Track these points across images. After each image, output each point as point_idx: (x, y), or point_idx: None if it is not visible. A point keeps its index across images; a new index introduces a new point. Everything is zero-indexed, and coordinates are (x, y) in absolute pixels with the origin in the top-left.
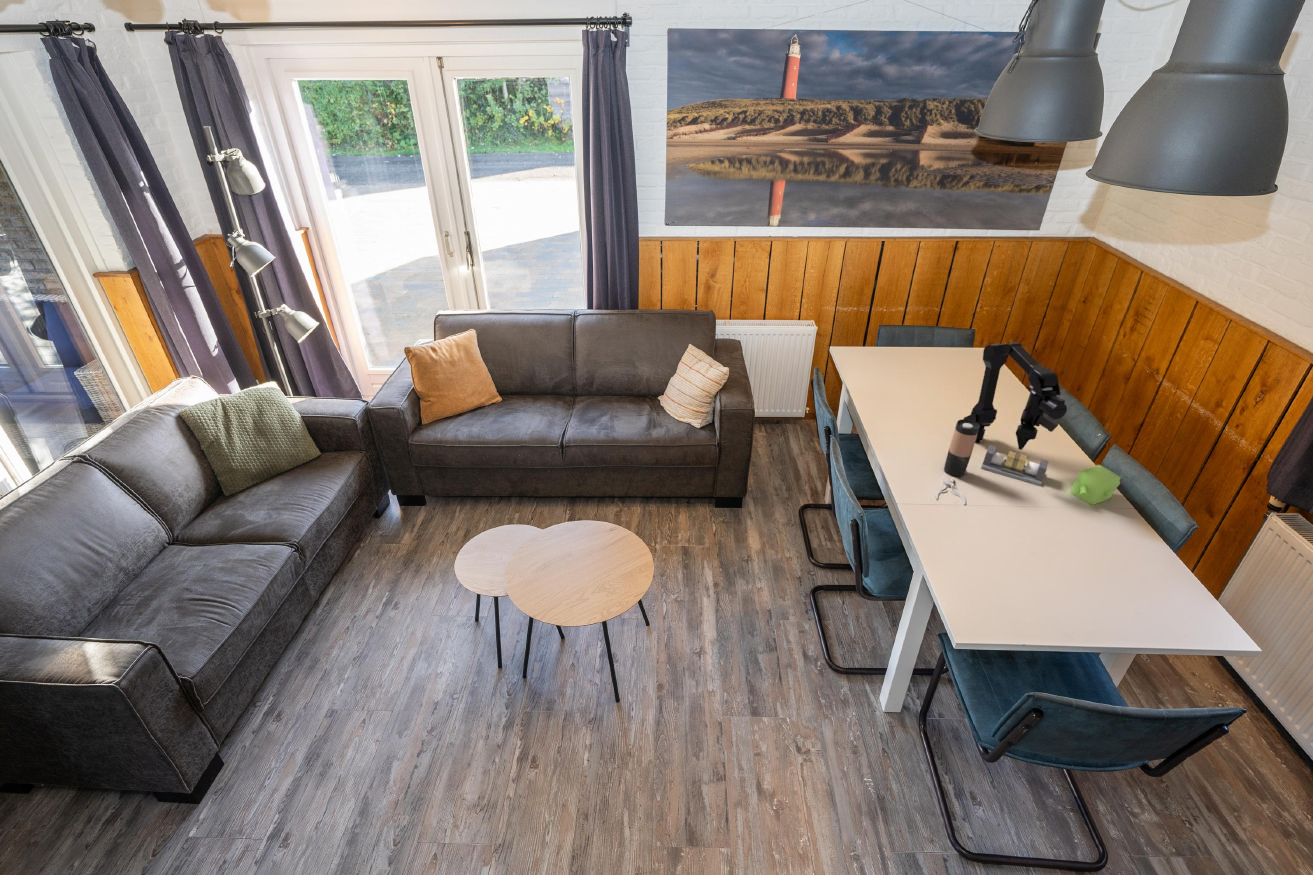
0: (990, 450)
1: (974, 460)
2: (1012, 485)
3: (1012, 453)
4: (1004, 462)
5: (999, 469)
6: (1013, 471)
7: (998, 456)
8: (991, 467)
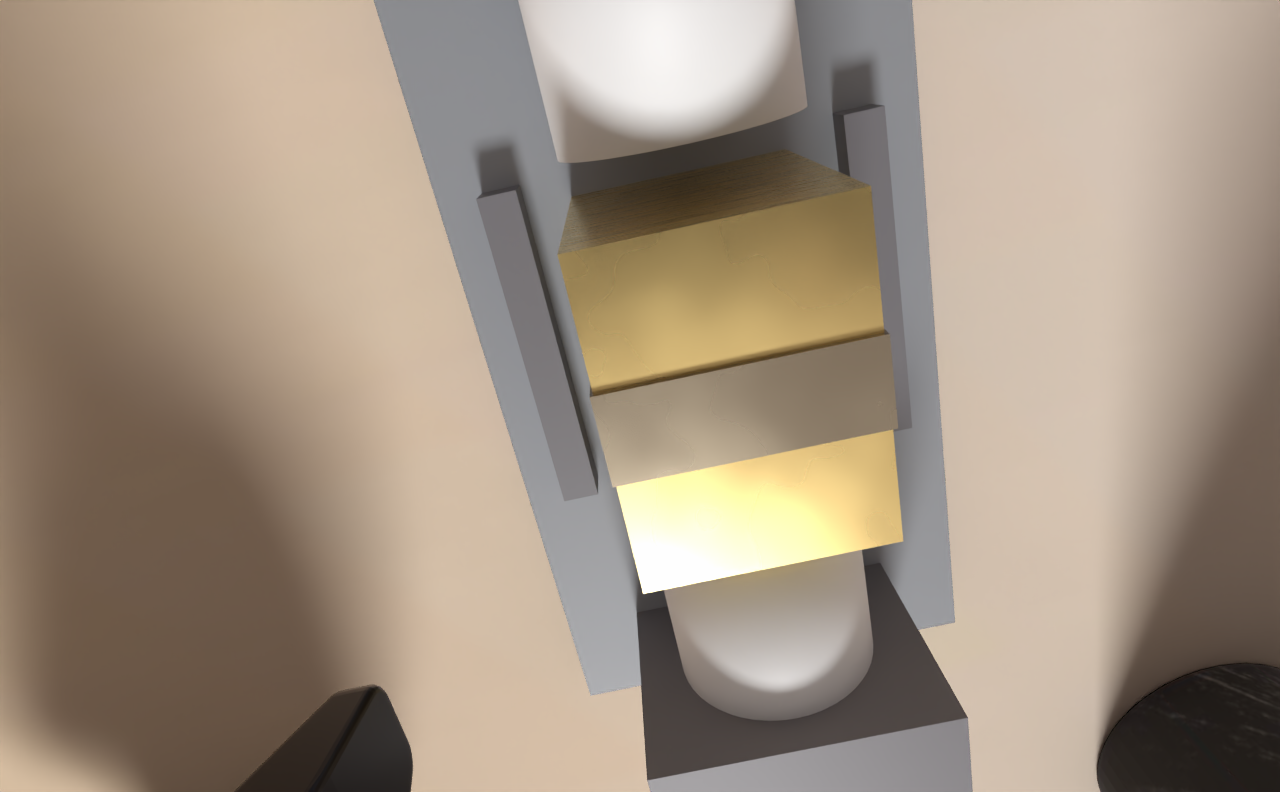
0: (859, 788)
1: None
2: (1148, 133)
3: (709, 518)
4: None
5: None
6: None
7: (846, 621)
8: None
